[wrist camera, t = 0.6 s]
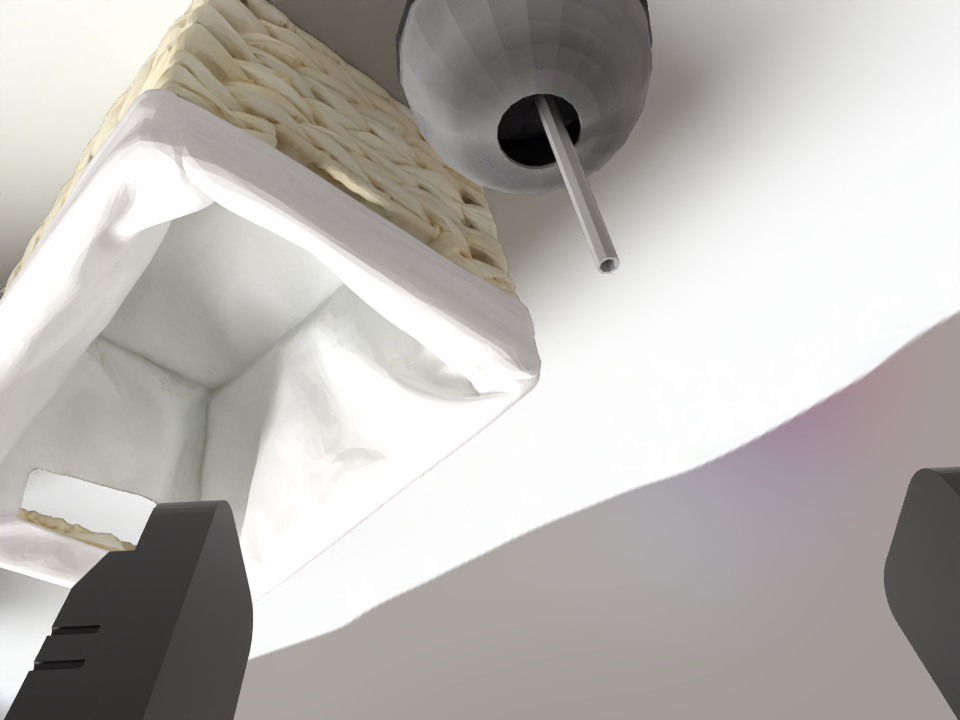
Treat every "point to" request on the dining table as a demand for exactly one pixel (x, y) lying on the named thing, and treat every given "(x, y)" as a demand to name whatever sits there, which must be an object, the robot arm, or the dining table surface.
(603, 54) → the beverage cup
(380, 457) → the storage basket
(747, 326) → the dining table surface
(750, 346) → the dining table surface
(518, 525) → the dining table surface
